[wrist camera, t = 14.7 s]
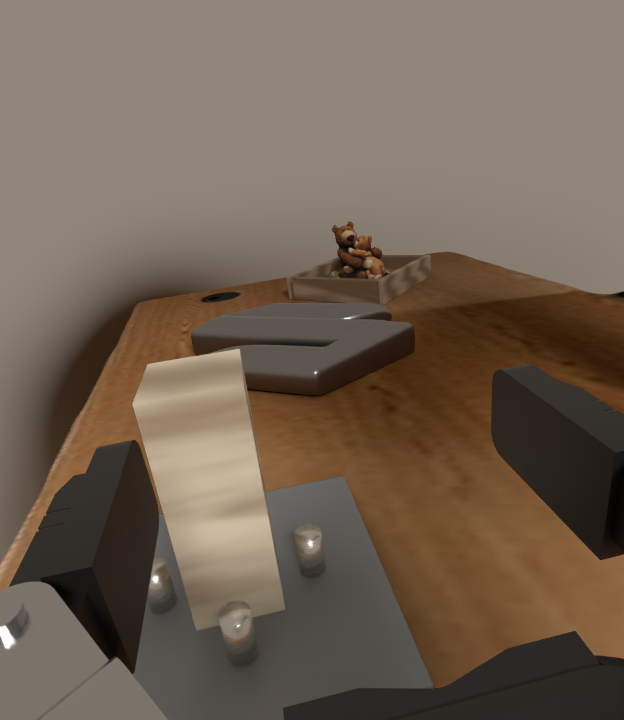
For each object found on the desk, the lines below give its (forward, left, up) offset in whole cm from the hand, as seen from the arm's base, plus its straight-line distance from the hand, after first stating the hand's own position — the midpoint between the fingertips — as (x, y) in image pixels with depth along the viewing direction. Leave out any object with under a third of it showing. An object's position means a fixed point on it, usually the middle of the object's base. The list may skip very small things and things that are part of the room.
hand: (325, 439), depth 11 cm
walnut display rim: (-72, -40, -17) cm, 84 cm away
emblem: (-39, -31, -17) cm, 53 cm away
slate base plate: (-6, -11, -17) cm, 21 cm away
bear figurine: (-73, -41, -17) cm, 85 cm away
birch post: (-6, -11, -16) cm, 20 cm away
